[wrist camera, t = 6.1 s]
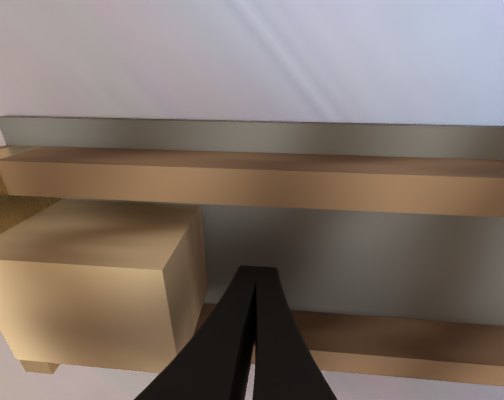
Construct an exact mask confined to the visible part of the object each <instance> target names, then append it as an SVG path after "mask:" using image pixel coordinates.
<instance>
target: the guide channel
mask: <svg viewBox="0 0 504 400" xmlns="http://www.w3.org/2000/svg"><path fill="white" fill-rule="evenodd" d="M0 129H1V131H2V134H3V136H4V139H5V141H6V144H7V145H5V146H1V147H0V149H4V148H7V147H11V146H15V145H24V146H44V147H40V148H37V149H34V150H30V151H27V152H23V153H20V154H16V155H13V156H9V157H6V158H2V159H0V174H1V177H2V179H3V182H4V184H5V186H6V189H7V191H8V194H9V195H18V196H40V197H62V199H68V200H90V201H112V202H134V203H156V204H178V205H200V206H201V212H202V224H203V237H204V249H205V261H206V273H207V285H208V291H207V294H206V297H205V300H204V303H203V306H202V309H201V312H200V315H199V318H198V322H197V325H196V328H195V331H194V334H195V333H196V332H197V331H198V329H199V328H200V327H201V325H202V324H203V323H204V321H205V320H206V319H207V317H208V316H209V315H210V313H211V312H212V311H213V309H214V308H215V306H216V305H217V303H218V302H219V300H220V299H221V297H222V296H223V294H224V293H225V291H226V289H227V288H228V286H229V284H230V283H231V281H232V279H233V277H234V275H235V273H236V271H237V269H238V267H240V266H241V265H246V266H261V267H276V268H277V270H278V272H279V278H280V282H281V286H282V289H283V292H284V295H285V298H286V301H287V303H288V306H289V308H290V311H291V313H292V315H293V318H294V320H295V323H296V325H297V327H298V329H299V331H300V333H301V335H302V337H303V340H304V342H305V344H306V346H307V348H308V350H309V351H310V353H311V355H312V357H313V359H314V361H315V363H316V364H317V366H318V368H319V370H327V371H338V372H350V373H361V374H372V375H383V376H394V377H405V378H416V379H428V380H439V381H450V382H461V383H472V384H483V385H495V386H504V126H463V125H416V124H368V123H320V122H273V121H225V120H177V119H130V118H82V117H34V116H2V117H0ZM194 334H193V336H194ZM251 364H255V341H254V347H253V353H252V359H251Z"/></svg>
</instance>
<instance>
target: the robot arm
mask: <svg viewBox="0 0 504 400" xmlns="http://www.w3.org/2000/svg"><path fill="white" fill-rule="evenodd" d="M254 341H255V379H254V390H253V400H337V398H336V397H335V395H334V393H333V392H332V390H331V388H330V387H329V385H328V383H327V382H326V380H325V378H324V377H323V375H322V373H321V371H320V370H319V368H318V366H317V364H316V363H315V361H314V359H313V357H312V355H311V353H310V351H309V350H308V348H307V346H306V344H305V342H304V340H303V337H302V335H301V333H300V331H299V329H298V327H297V325H296V323H295V320H294V318H293V315H292V313H291V311H290V308H289V306H288V303H287V301H286V298H285V295H284V292H283V289H282V286H281V282H280V278H279V272H278V270H277V268H276V267H261V266H246V265H241V266H240V267H238V269H237V271H236V273H235V275H234V277H233V279H232V281H231V283H230V284H229V286H228V288H227V289H226V291H225V293H224V294H223V296H222V297H221V299H220V300H219V302H218V303H217V305H216V306H215V308H214V309H213V311H212V312H211V313H210V315H209V316H208V317H207V319H206V320H205V321H204V323H203V324H202V325H201V327H200V328H199V329H198V331H197V332H196V333H195V334H194V336H193V337H192V338H191V339H190V341H189V342H188V343H187V344H186V345H185V346H184V348H183V349H182V350H181V351H180V352H179V353H178V354H177V356H176V357H175V358H174V359H173V360H172V361H171V362H170V363H169V364H168V366H167V367H166V368H165V369H164V370H163V371H162V372H161V373H160V374H159V375H158V376H157V377H156V378H155V379H154V380H153V381H152V382H151V383H150V384H149V385H148V386H147V387H146V388H145V389H144V390H143V391H142V392H141V393H140V394H139V395H138V396H137V397H136V398H135V399H134V400H245V394H246V388H247V382H248V376H249V370H250V364H251V359H252V353H253V347H254Z"/></svg>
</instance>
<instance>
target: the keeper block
mask: <svg viewBox="0 0 504 400" xmlns="http://www.w3.org/2000/svg"><path fill="white" fill-rule="evenodd" d="M207 291H208V285H207V273H206V261H205V249H204V237H203V224H202V212H201V206H200V205H178V204H156V203H134V202H112V201H90V200H68V199H62V200H60V201H58V202H56V203H55V204H53V205H51V206H49V207H47V208H46V209H44V210H42V211H40V212H39V213H37V214H35V215H33V216H31V217H30V218H28V219H26V220H24V221H22V222H21V223H19V224H17V225H15V226H13V227H12V228H10V229H8V230H6V231H5V232H3V233H1V234H0V331H1V333H2V334H3V336H4V338H5V340H6V341H7V343H8V345H9V347H10V348H11V350H12V352H13V354H14V356H15V357H16V359H17V360H27V361H38V362H48V363H59V364H69V365H80V366H90V367H101V368H112V369H122V370H133V371H143V372H154V373H161V372H162V371H163V370H164V369H165V368H166V367H167V366H168V364H169V363H170V362H171V361H172V360H173V359H174V358H175V357H176V356H177V354H178V353H179V352H180V351H181V350H182V349H183V348H184V346H185V345H186V344H187V343H188V342H189V341H190V339H191V338H192V337H193V334H194V331H195V328H196V325H197V322H198V318H199V315H200V312H201V309H202V306H203V303H204V300H205V297H206V294H207Z"/></svg>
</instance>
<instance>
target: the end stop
mask: <svg viewBox="0 0 504 400" xmlns="http://www.w3.org/2000/svg"><path fill="white" fill-rule="evenodd" d="M40 147H44V146H24V145H15V146H11V147H7V148H4V149H0V159H2V158H6V157H9V156H13V155H16V154H20V153H23V152H27V151H30V150H34V149H37V148H40ZM60 200H62V197H40V196H18V195H9V194H8V191H7V189H6V186H5V184H4V182H3V179H2V177H1V174H0V234H1V233H3V232H5V231H6V230H8V229H10V228H12V227H13V226H15V225H17V224H19V223H21V222H22V221H24V220H26V219H28V218H30V217H31V216H33V215H35V214H37V213H39V212H40V211H42V210H44V209H46V208H47V207H49V206H51V205H53V204H55V203H56V202H58V201H60ZM20 362H21V364H22V365H23V367H24V369H25V371H26V372H36V373H46V374H53V373H54V372H55V370H56V369H57V368H58V366H59V365H60V364H59V363H48V362H38V361H27V360H20Z"/></svg>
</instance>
